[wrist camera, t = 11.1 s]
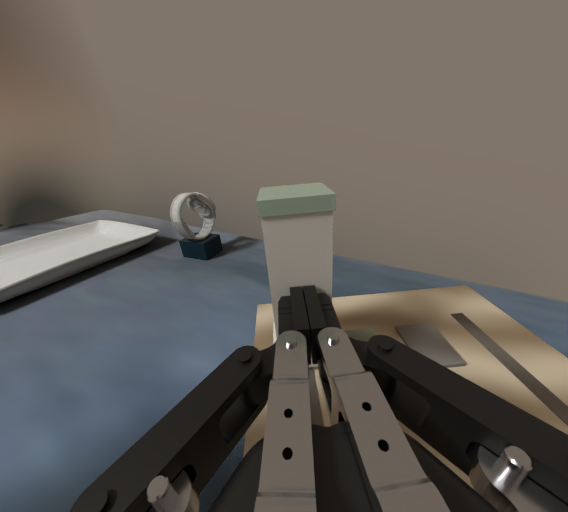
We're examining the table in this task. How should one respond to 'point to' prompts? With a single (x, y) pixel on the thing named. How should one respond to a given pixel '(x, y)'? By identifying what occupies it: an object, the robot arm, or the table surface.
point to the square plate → (65, 254)
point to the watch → (201, 242)
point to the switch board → (445, 351)
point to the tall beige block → (297, 239)
